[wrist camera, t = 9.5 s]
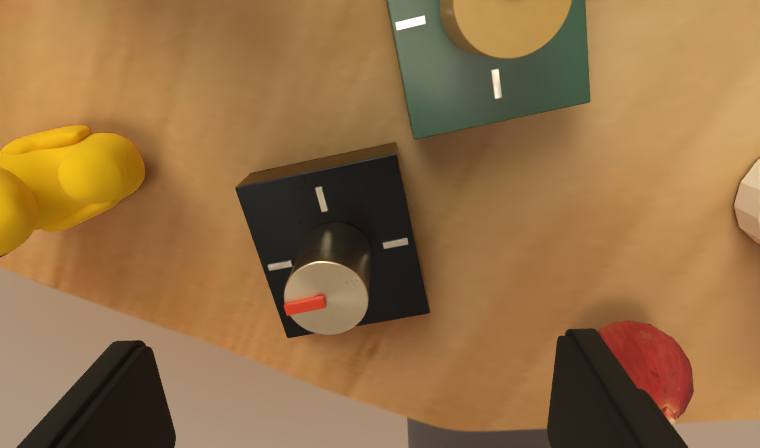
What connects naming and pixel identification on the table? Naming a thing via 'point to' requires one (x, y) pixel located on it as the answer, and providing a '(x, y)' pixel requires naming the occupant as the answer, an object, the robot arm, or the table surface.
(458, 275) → the table surface
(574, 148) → the table surface
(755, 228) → the white cup
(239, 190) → the panel
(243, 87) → the table surface
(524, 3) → the dial
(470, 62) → the panel
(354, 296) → the dial
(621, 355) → the onion
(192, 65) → the table surface
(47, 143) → the duckling
